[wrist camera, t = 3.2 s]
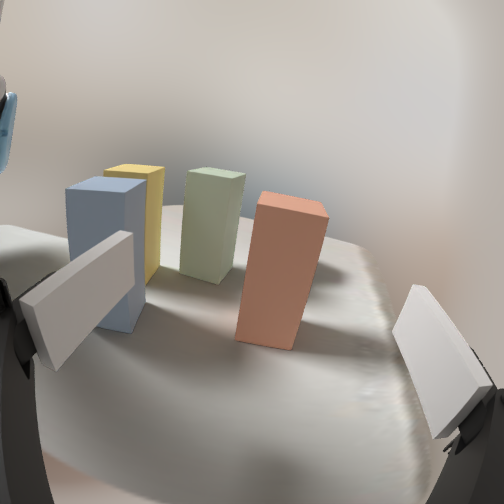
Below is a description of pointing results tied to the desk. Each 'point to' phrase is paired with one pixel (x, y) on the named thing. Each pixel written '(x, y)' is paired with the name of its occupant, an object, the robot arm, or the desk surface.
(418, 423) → the desk surface
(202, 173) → the sage pillar
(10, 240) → the desk surface
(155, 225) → the mustard pillar
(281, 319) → the terracotta pillar
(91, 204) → the slate pillar
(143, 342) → the desk surface
